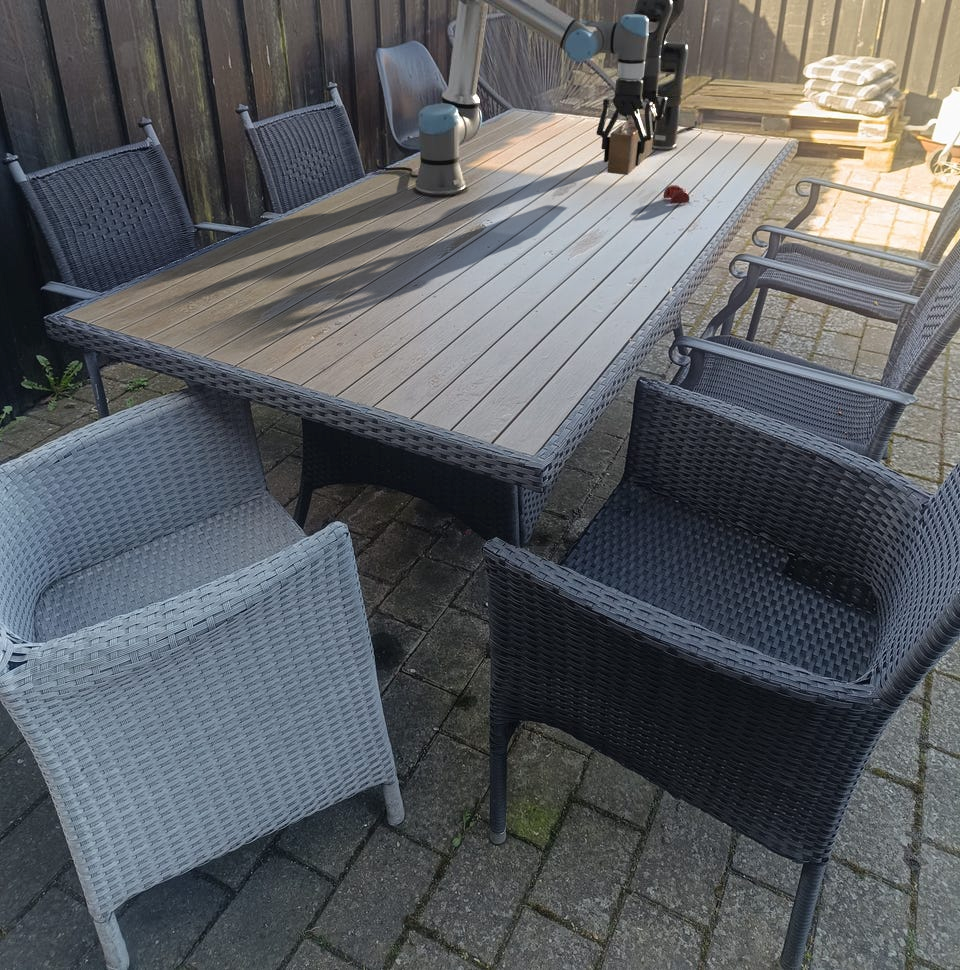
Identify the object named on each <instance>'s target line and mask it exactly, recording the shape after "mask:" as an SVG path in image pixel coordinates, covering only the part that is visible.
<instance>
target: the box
mask: <svg viewBox="0 0 960 970" xmlns="http://www.w3.org/2000/svg"><path fill="white" fill-rule="evenodd" d="M639 114H640V119H641V122H642V125H643V128H644V131H645V134H646V123H645V113H644V114H643V113H639ZM653 133H654V132H653ZM609 135H610V136H609V137H610V146H609V157H608V161H607V169H606V170H607V172H606V173H607V174H615V175H624V176H628V175H629V174H631V172H633V170H635V169H636V168H637V166H635V163H636V153H637V144H638V141H640V138H639V135H638V132H637V129H636V126H635V123H634V120H633V118H632V117H631V118H630V119H629V120H627V119H626V121H625V122H623V123H622V124H621V125H619V126H618V127H617V128H615V129H614V130H613V131H611V132H610V133H609ZM646 136H647V134H646ZM652 142H653V138H652V139H651V140H648V141H646V146H645V152H644V153H643V154H642V153H641V161H640V164H641V163H642V162H643V161H644V160H645V159H646V158H647V157H648V156H649V155H650V154H651V153H652V149H653V148H652Z"/></svg>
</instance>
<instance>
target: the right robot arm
mask: <svg viewBox="0 0 960 970" xmlns="http://www.w3.org/2000/svg"><path fill="white" fill-rule="evenodd" d="M686 6H687V0H635V3H634V6H633V15H634V14H638V15H645V16H647V17H648V19H649V24H656V27H655V28H654V29H652V30H648V34H649V36H648V41H647V49H646V58H645V70H644V77H643V78H642V80H643V89H642V99H643V101H646V102H650V101H651V102H652V108H651V117H652V128H653V132H654V133H653V142H652V149H654V150H662V151H663V150H664V151H667V150H674V149H675V148H676V147H677V144H676V143H677V136H678V134H680V133H683V132H685V131H688V130H693V129H695V128H697V126H698V121H697V120H696V121H694V125H692V126H688V127H684V128H681V129H679V121H680V113H681V105H682V97H683V89H684V82H685V75H686V70H687V64H688V58H689V46H688V44H687V43H685V42H674V41H673V42H671V41H667V38H668V35H669V33H670V31H671V30H672V28H673V27H674V26H675V24H676V23H677V22H678V20H679V19H680V18H681V16H682V15H683V13H684V10H685V9H686ZM660 73H663V74H674V76H673V77H672V78H671V79H669V80H667V81H665V82H661V83H659V81H660ZM639 110H644V109H643V106H642V105H641V106H640V108H639V109H638V111H639ZM644 111H645V110H644ZM621 116H622V117H624V118H626V121H627V120H629V119H630V118H631V117H632V115H631V116H630V115H626V114H625V115H621ZM678 129H679V130H678Z"/></svg>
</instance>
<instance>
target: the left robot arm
mask: <svg viewBox="0 0 960 970" xmlns="http://www.w3.org/2000/svg"><path fill="white" fill-rule="evenodd" d="M489 6H490V7H492V8H494V9H495V10H497V11H499V12H500V13H501V14H504V15H505V16H507V17H509V18H510V19H512V20H514V21H515V22H517V23H518V24H520V25H522V26H523V27H525V28H527V29H528V30H530V31H531V32H533V33H535V34H536V35H538V36H540V37H542V38H543V39H545V40H547V41H548V42H550V43H551V44H553V45H555V46H556V47H558V48H560V49H562V50H563V51H565V53H566V55H567V57H568V58H569V59H570V60H571V61H572V62H576V63H583V62H586V61H589V60H591V59H592V58H594V57H596V56H597V55H599V54H612V55H617V65H616V66H617V67H616V77H617V79H616V80H615V89H614V96H613V98H611V97H610V98H609V97H605V98H604V99H603V100H602V112H601V114H600V118H599V121H598V125H597V129H596V136H600V137H601V149H602V150H604V153H603V163H608V157H609V146H610V136H609V135H610V134H611V132H612V129H613V128H614V126H615V124H616V123H617V121H618V119H619V117H620V116H622V115H625V114H626V115H630V116H631V115H632V118H633V120H634V123H635V126H636V129H637V132H638V135H639V138H640V141H638V144H637V153H636V163H635V166H636V167H638V166H639V165H640V164H641V163H640V161H641V153H642V154H643V153H644V152H645V146H646V141H648V140H651V139H652V138H653V128H652V117H651V108H653V107H652V102H651V101H650V102H646V101H643V99H642V89H643V80H642V78H643V77H644V70H645V58H646V49H647V41H648V36H649V34H648V31H649V26H650V23H649V19H648V17H647V16H645V15H638V14H634V13H633V14H624V15H622V16H621V19H620V22H609V21H606V22H605V21H594V20H588V21H586V20H585V21H578V20H576V19H575V18H574V17H572V16H570V15H568V14H567V13H565V12H563V11H562V10H561V9H559V8H557V7H555V6H554V5H553V4H551V3H549V2H548V1H546V0H458V1H457V10H456V17H455V18H456V19H455V27H454V35H453V36H454V37H453V43H452V49H451V50H452V51H451V59H450V66H449V67H450V68H449V76H448V85H447V89H446V90H445V91H444V92H442V93H441V101H440V103H433V104H429V105H427V106H425V107H422V109H421V110H420V111H419V113H418V122H417V124H418V136H419V138H418V139H419V157H420V158H419V159H420V161H419V162H420V164H419V168H418V172H417V174H414V170H413V168H411V167H406V166H393V167H392V166H391V167H390V168H388V166H387V167H386V166H380V165H379V162H380V159H378V158H377V159H376V160H375V162H374V163H375V167H376V169H378V170H381V171H408V172H409V176H410V178H413V179H416V180H415V185H414V186H415V192H417V193H418V194H420V195H424V196H430V197H450V196H455V195H459V194H461V193H463V192H464V191H466V181H465V179H464V176H463V172H462V169H461V165H460V146H461V145H463V144H465V143H468V142H469V141H471V140H472V139H473V138H474V137H476V135H477V134H478V133H479V131H480V130H481V126H482V125H483V114H482V111H481V109H480V103H481V99H480V97H479V96H478V94H477V88H478V80H479V73H480V66H481V60H482V54H483V53H482V52H483V45H484V39H485V32H486V31H485V30H486V24H487V16H488V10H489ZM612 105H614V107H615V111H614V113H613V115H612V116H611V119H610V120H609V122H608V124H607V126H606V128H605V125H606V122H607V119H608V115H609V112H610V108H611V106H612ZM641 105H642V106H643V109H644V114H645V123H646V134H647V136H646V134H645V131H644V128H643V125H642V122H641V119H640V114H641V113H640V111H639V108H640V106H641ZM643 109H642V110H643ZM384 169H385V170H384Z"/></svg>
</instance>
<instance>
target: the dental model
mask: <svg viewBox="0 0 960 970" xmlns="http://www.w3.org/2000/svg"><path fill="white" fill-rule="evenodd" d="M687 191H688V190H687V189H686V188H682V187H681V186H679V185H676V184H674V185H673V184H672V185H669V186H667V187H666V188H665V189H664V191H663V199H670V201H669V202H670V204H671V205H672V204H673V205H675V204H685V203H686V204H687V203H689V202H690V195H689V193H688V192H687Z"/></svg>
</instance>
